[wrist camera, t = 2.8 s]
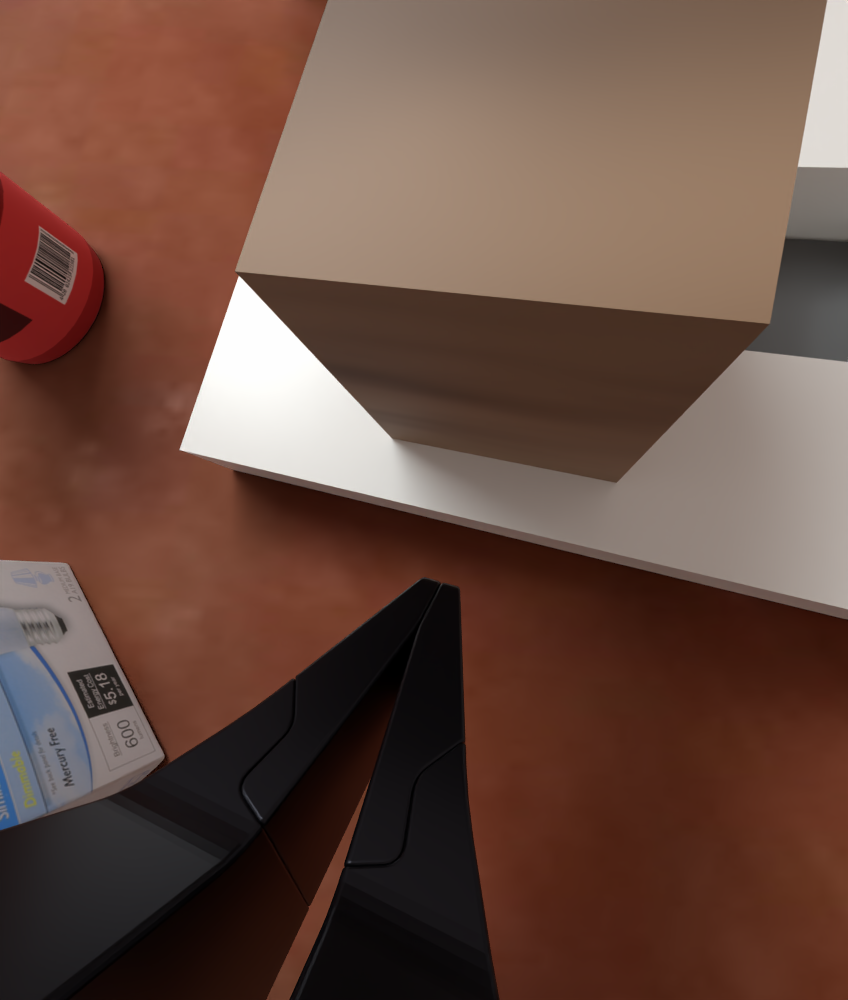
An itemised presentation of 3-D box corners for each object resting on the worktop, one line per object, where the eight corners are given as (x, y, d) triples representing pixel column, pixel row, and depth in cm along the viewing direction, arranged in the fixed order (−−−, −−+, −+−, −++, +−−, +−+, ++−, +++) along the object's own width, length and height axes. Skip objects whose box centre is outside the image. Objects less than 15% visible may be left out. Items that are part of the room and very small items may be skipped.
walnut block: (616, 482, 12) (769, 323, 5) (392, 438, 14) (235, 271, 6) (675, 206, 13) (879, -295, 6) (459, 198, 15) (393, -190, 8)
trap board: (863, 623, 13) (961, 636, 10) (232, 469, 19) (179, 450, 16) (948, 5, 16) (1045, -126, 13) (370, 42, 21) (347, -41, 19)
